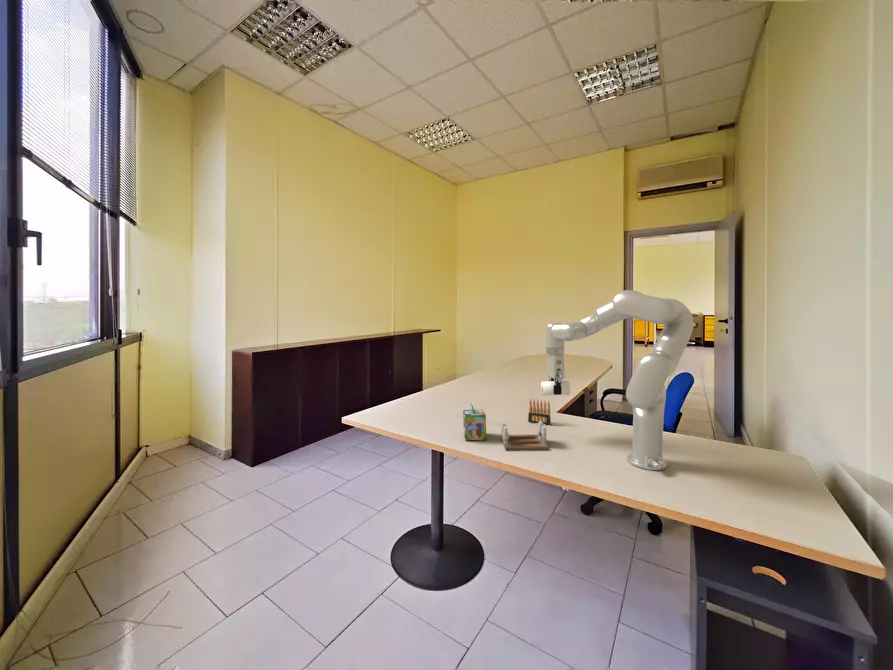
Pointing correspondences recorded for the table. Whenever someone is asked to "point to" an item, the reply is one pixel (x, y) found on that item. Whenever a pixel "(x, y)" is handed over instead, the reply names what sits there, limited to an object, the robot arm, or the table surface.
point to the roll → (548, 388)
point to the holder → (524, 439)
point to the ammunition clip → (539, 412)
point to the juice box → (474, 424)
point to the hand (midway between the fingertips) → (555, 392)
